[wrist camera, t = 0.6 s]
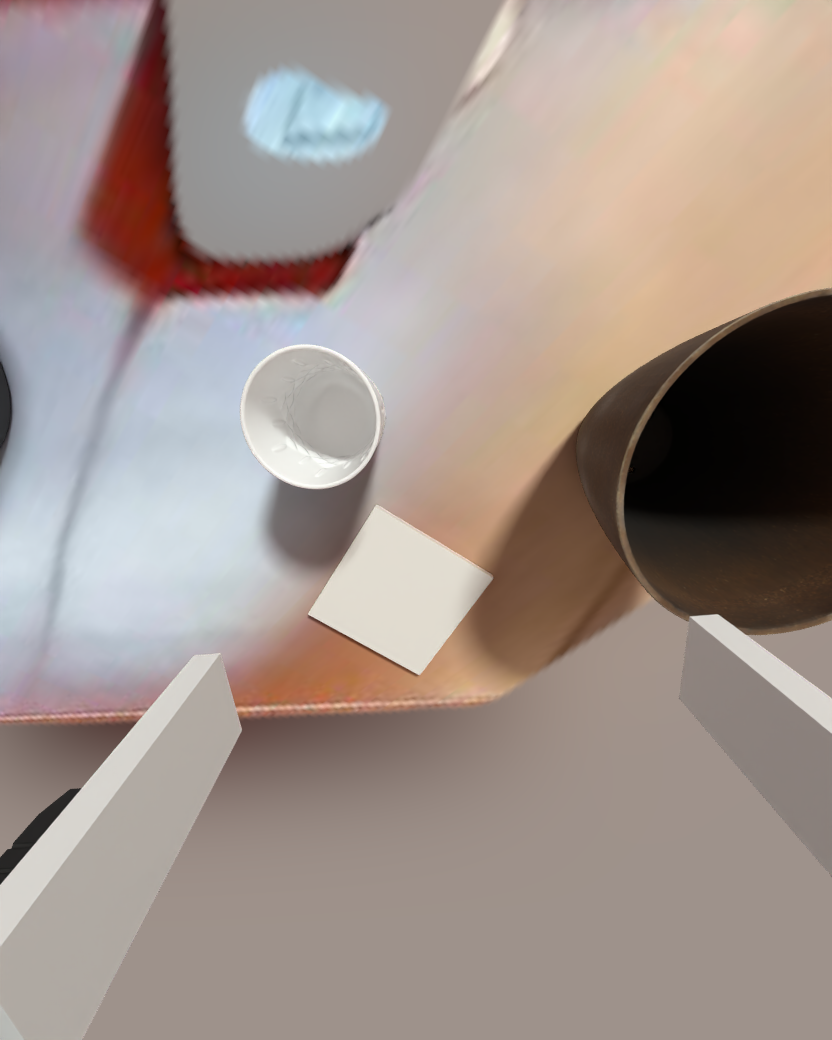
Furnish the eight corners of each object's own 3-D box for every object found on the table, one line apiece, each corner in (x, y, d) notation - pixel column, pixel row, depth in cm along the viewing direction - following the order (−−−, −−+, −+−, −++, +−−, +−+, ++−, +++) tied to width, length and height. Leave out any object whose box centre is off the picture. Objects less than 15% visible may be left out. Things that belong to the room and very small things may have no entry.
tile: (310, 609, 37) (307, 614, 37) (376, 503, 34) (375, 506, 34) (419, 669, 39) (419, 675, 38) (492, 574, 36) (493, 578, 35)
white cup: (411, 396, 32) (406, 396, 22) (362, 480, 34) (338, 513, 24) (322, 339, 31) (276, 313, 21) (277, 430, 33) (217, 444, 23)
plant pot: (669, 548, 35) (860, 666, 20) (504, 507, 34) (569, 598, 19) (751, 369, 31) (1078, 343, 15) (565, 318, 30) (713, 237, 15)
